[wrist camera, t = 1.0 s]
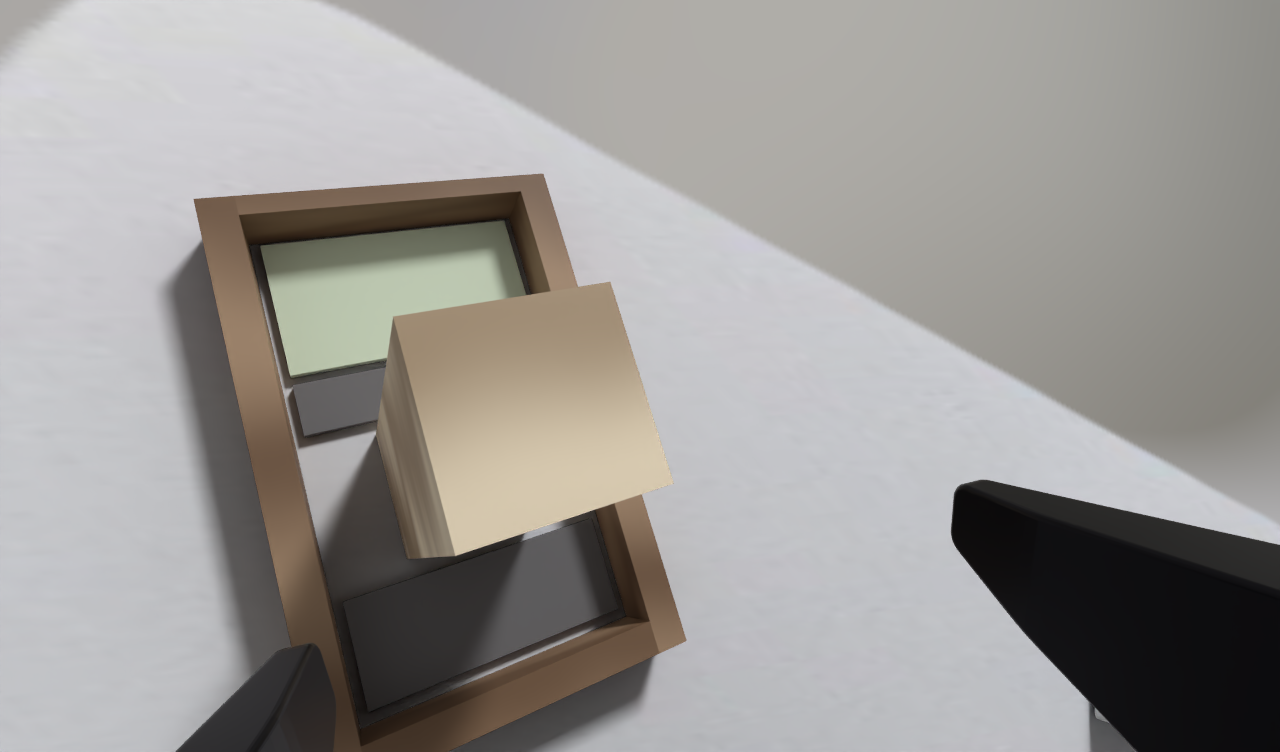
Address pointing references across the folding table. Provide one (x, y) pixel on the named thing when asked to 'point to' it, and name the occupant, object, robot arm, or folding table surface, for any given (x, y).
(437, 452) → the maple block
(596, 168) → the folding table surface
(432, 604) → the pads
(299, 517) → the brown rectangular frame
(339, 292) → the pad
